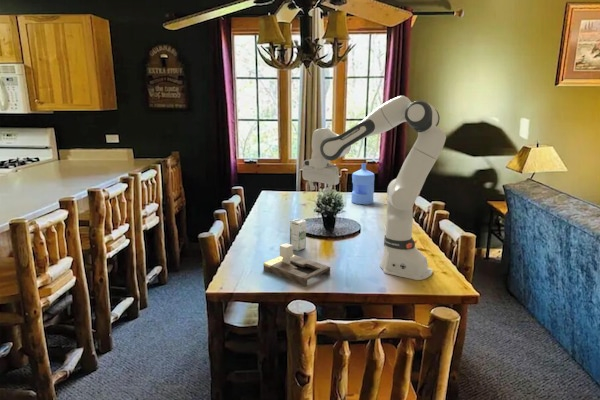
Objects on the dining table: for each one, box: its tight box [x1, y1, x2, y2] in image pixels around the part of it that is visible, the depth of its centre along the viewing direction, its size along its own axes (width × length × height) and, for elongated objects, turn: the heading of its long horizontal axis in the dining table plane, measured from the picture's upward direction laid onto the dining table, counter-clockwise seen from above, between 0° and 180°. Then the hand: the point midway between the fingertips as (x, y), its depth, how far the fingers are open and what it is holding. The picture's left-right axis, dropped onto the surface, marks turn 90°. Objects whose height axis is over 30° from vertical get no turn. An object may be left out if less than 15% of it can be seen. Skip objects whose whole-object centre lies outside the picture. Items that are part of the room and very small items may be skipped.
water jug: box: [350, 162, 375, 206], centre depth 296 cm, size 16×16×28 cm
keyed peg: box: [279, 242, 295, 266], centre depth 182 cm, size 5×5×11 cm
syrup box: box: [289, 218, 307, 252], centre depth 206 cm, size 6×6×14 cm
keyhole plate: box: [262, 254, 331, 287], centre depth 179 cm, size 24×16×3 cm, turn 48°
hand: (320, 191), depth 201 cm, fingers open, 8 cm apart
